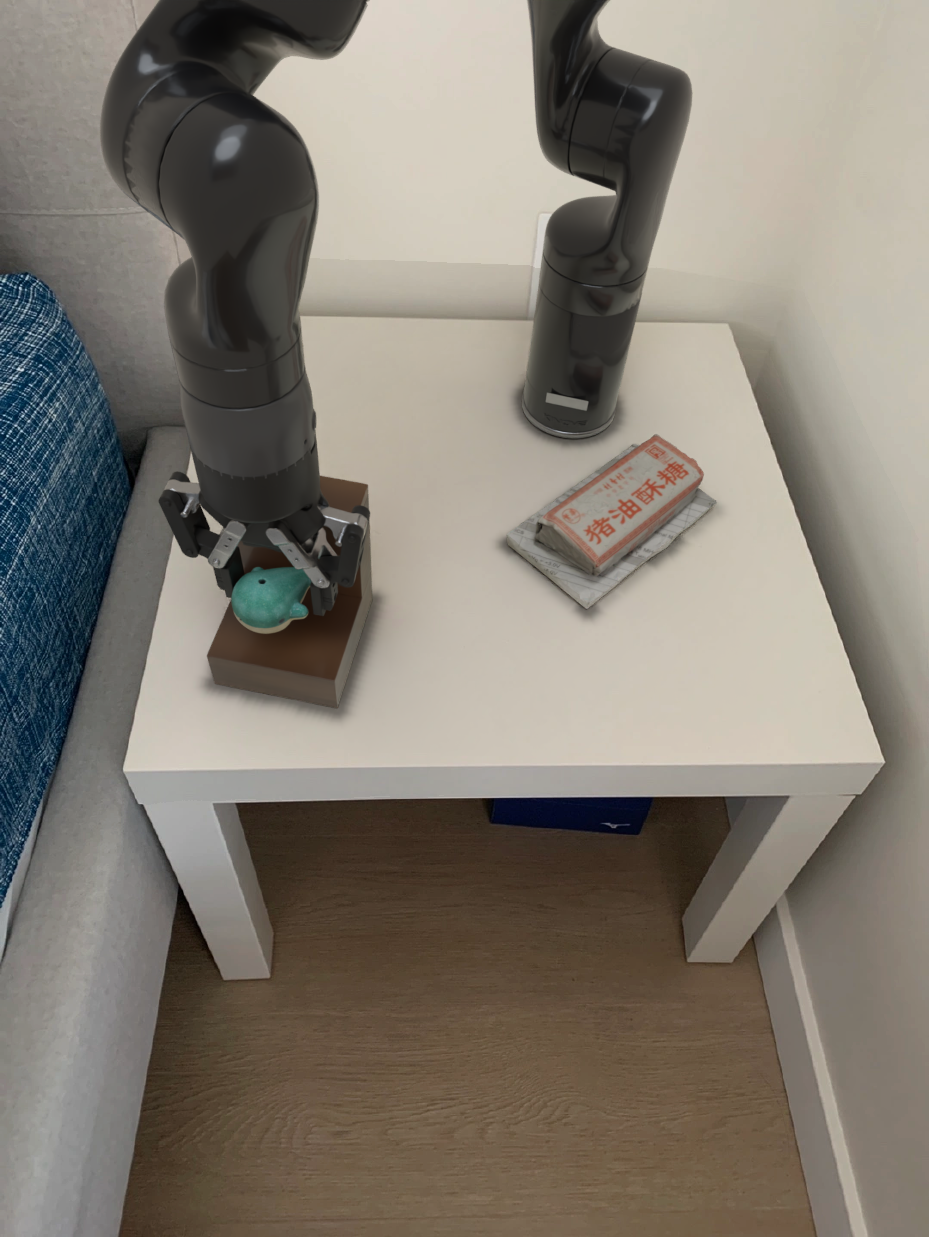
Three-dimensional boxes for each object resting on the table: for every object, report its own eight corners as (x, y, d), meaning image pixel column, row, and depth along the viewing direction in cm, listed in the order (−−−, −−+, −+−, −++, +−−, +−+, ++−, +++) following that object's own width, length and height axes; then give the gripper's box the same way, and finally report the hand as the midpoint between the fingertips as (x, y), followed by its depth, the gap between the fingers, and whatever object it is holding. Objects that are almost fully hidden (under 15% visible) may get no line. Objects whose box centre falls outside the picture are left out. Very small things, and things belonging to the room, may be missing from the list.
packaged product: (643, 414, 91) (728, 473, 87) (633, 452, 95) (714, 509, 91) (508, 509, 83) (595, 578, 79) (503, 546, 87) (586, 613, 83)
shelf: (258, 577, 83) (236, 459, 72) (372, 599, 83) (368, 483, 71) (214, 683, 77) (182, 572, 66) (337, 708, 76) (326, 600, 65)
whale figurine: (217, 606, 72) (209, 574, 69) (296, 555, 75) (291, 522, 72) (266, 654, 70) (260, 623, 66) (345, 599, 73) (342, 567, 70)
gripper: (111, 449, 57) (167, 619, 70) (352, 493, 56) (361, 657, 69) (160, 367, 61) (203, 542, 75) (384, 406, 60) (387, 577, 74)
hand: (279, 597), depth 72 cm, fingers closed on whale figurine, 6 cm apart
